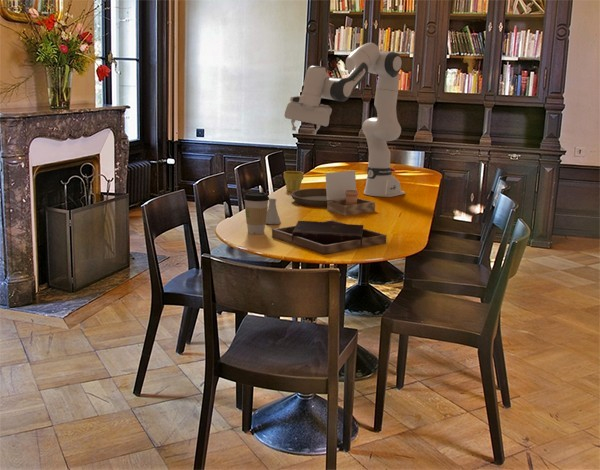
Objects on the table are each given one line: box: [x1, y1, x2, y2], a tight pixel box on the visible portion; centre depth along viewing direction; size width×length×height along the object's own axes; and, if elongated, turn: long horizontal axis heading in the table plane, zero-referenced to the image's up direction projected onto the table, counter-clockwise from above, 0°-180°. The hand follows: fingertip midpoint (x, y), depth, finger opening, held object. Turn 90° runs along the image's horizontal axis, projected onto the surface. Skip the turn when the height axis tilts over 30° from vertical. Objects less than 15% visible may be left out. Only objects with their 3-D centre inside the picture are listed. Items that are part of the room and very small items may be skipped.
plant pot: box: [283, 170, 304, 193], centre depth 347 cm, size 10×10×10 cm
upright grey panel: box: [325, 170, 357, 200], centre depth 302 cm, size 18×12×1 cm
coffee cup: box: [242, 191, 270, 235], centre depth 254 cm, size 10×10×15 cm
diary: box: [292, 220, 365, 247], centre depth 247 cm, size 19×25×5 cm
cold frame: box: [326, 197, 376, 216], centre depth 299 cm, size 18×15×12 cm
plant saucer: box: [290, 187, 346, 208], centre depth 320 cm, size 31×31×5 cm
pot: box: [345, 189, 359, 206], centre depth 298 cm, size 6×6×9 cm
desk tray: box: [271, 219, 388, 256], centre depth 247 cm, size 30×30×3 cm
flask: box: [265, 198, 282, 226], centre depth 271 cm, size 7×7×10 cm
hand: (303, 132), depth 300 cm, fingers open, 8 cm apart
